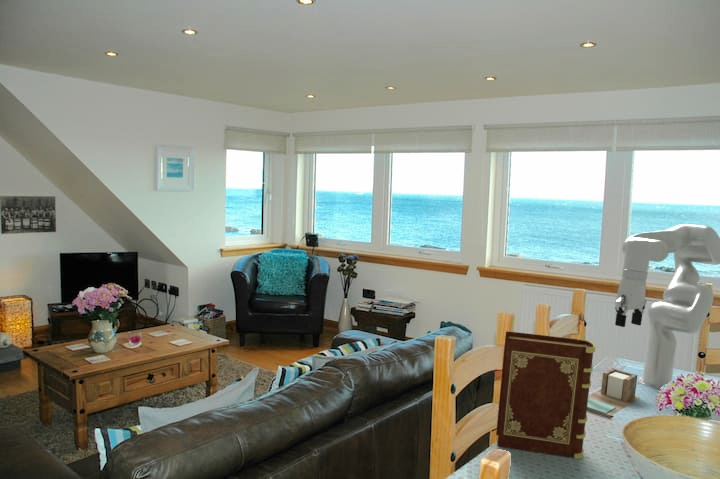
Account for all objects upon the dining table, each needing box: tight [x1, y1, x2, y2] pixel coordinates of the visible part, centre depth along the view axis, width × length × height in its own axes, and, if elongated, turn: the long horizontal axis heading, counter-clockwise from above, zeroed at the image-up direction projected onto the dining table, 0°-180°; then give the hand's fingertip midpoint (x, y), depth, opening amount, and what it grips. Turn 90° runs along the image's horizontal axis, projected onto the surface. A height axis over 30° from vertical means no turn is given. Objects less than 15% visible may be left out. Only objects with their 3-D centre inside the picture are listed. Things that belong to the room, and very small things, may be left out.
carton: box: [606, 372, 629, 399], centre depth 190 cm, size 6×5×7 cm
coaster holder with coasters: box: [587, 367, 641, 419], centre depth 184 cm, size 25×12×8 cm, turn 134°
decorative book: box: [495, 331, 596, 460], centre depth 148 cm, size 22×8×30 cm, turn 78°
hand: (628, 325), depth 187 cm, fingers open, 9 cm apart
